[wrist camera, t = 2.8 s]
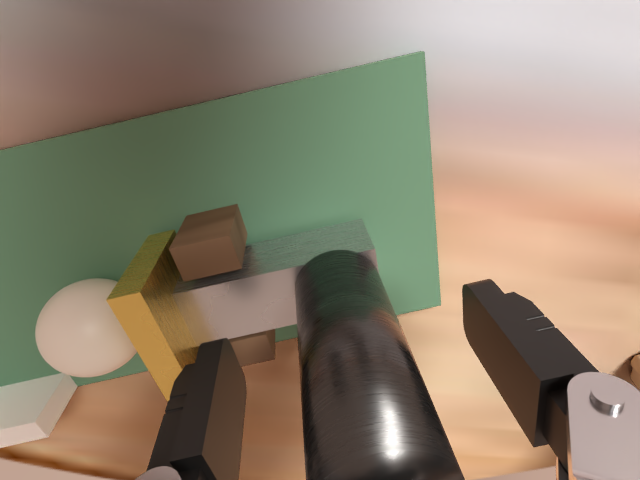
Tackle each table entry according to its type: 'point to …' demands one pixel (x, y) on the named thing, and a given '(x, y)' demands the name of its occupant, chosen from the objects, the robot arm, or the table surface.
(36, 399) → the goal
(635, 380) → the handle
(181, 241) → the brown cardboard carton
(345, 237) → the long multicoloured device
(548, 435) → the robot arm
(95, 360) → the ball
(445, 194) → the table surface
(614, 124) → the table surface
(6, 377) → the pitch
